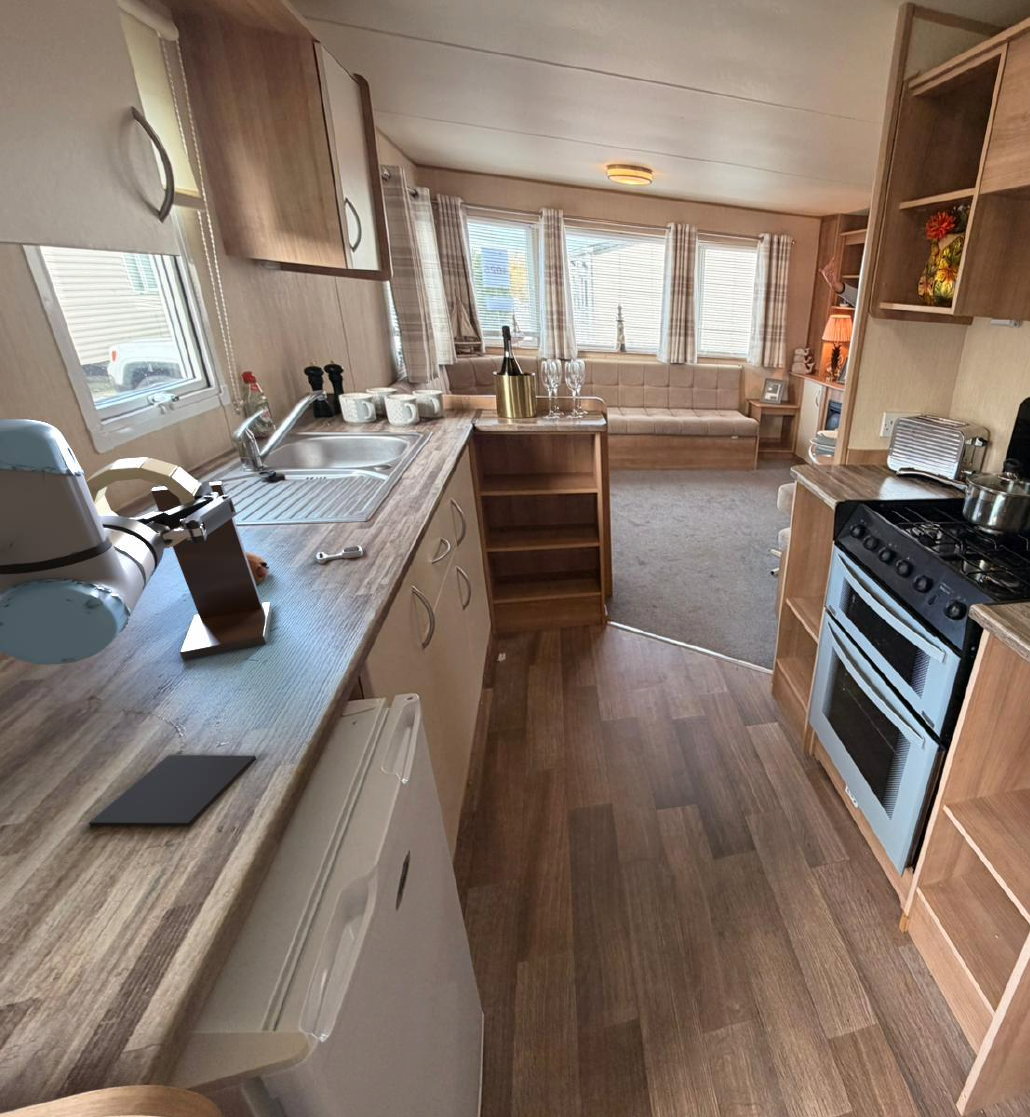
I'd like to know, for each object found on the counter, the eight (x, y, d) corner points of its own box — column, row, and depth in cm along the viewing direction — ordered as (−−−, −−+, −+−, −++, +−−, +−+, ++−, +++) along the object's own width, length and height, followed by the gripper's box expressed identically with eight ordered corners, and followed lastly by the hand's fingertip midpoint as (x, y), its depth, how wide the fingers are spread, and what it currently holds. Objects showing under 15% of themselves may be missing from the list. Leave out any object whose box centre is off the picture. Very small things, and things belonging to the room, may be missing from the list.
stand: (197, 623, 98) (144, 487, 88) (272, 609, 103) (230, 479, 94) (183, 661, 89) (122, 514, 79) (266, 644, 94) (218, 504, 84)
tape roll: (108, 542, 74) (74, 462, 70) (215, 529, 80) (189, 454, 75) (97, 557, 71) (59, 473, 66) (210, 542, 76) (182, 463, 72)
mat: (90, 827, 62) (88, 822, 62) (170, 758, 71) (168, 754, 71) (190, 827, 63) (187, 823, 63) (256, 759, 72) (255, 755, 72)
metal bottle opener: (363, 557, 124) (362, 551, 123) (317, 564, 120) (316, 558, 119) (361, 549, 127) (360, 544, 127) (317, 557, 123) (315, 551, 122)
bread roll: (220, 592, 115) (183, 563, 110) (273, 561, 118) (240, 531, 113) (221, 613, 108) (183, 583, 103) (277, 579, 112) (243, 548, 107)
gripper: (-50, 620, 55) (37, 538, 72) (258, 572, 67) (271, 511, 84) (-94, 546, 52) (8, 479, 69) (238, 509, 64) (256, 459, 80)
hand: (153, 496), depth 76 cm, fingers closed on tape roll, 10 cm apart
